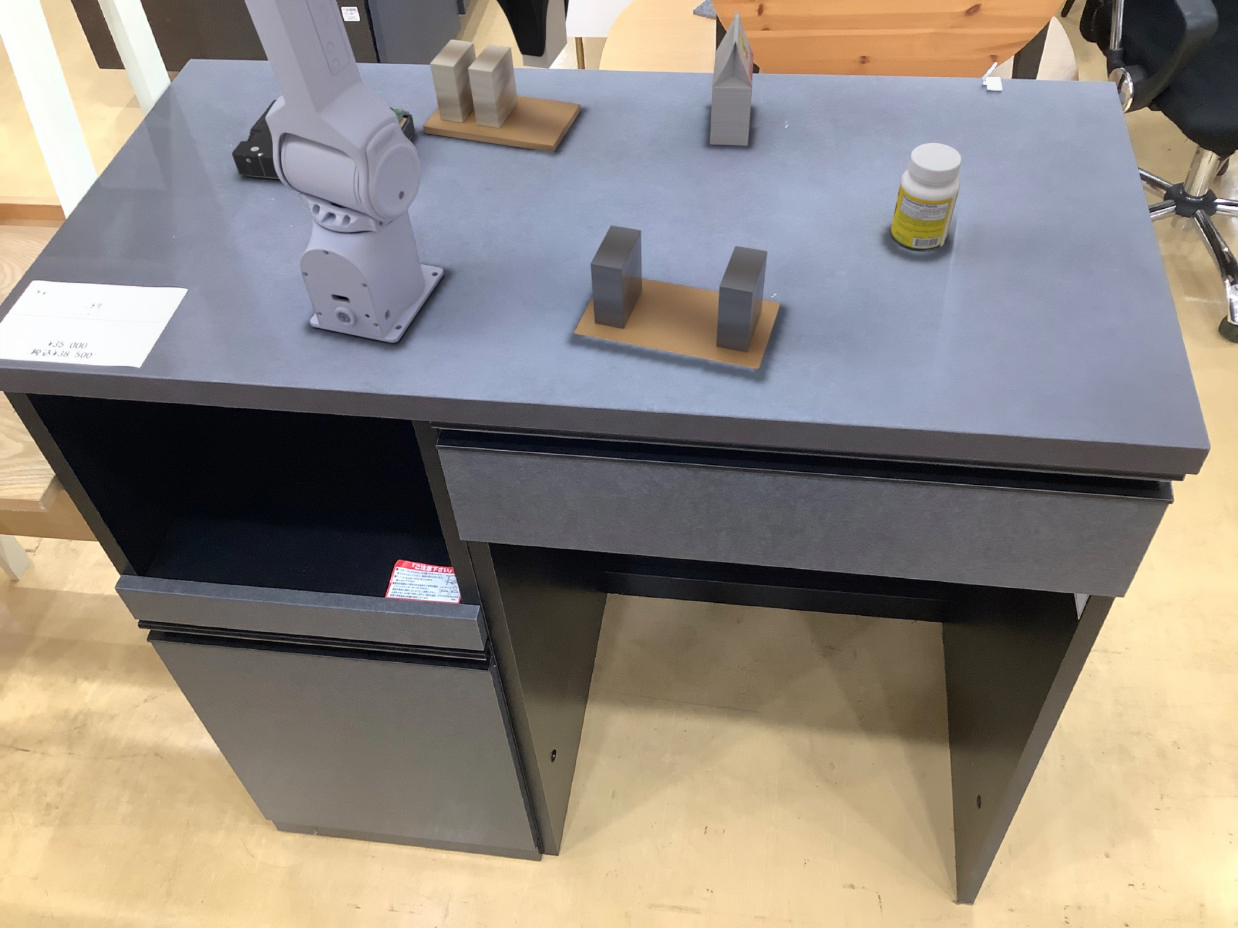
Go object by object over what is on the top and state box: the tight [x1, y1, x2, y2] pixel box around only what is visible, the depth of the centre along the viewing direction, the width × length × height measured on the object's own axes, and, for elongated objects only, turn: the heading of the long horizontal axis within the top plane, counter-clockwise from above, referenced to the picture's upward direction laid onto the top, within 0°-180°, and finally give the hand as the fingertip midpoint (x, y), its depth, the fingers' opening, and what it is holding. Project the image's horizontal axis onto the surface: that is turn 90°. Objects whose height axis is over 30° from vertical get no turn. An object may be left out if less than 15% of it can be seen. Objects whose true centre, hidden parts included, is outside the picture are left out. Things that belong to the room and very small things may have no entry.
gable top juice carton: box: [709, 11, 754, 146], centre depth 95 cm, size 4×7×10 cm, turn 174°
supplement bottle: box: [890, 142, 962, 252], centre depth 82 cm, size 5×5×8 cm
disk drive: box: [231, 99, 416, 180], centre depth 97 cm, size 10×3×15 cm
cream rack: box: [422, 39, 581, 153], centre depth 98 cm, size 8×14×7 cm, turn 72°
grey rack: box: [573, 224, 781, 370], centre depth 77 cm, size 8×15×7 cm, turn 72°
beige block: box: [521, 0, 568, 70], centre depth 89 cm, size 5×2×6 cm, turn 162°
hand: (543, 40), depth 90 cm, fingers closed on beige block, 5 cm apart
